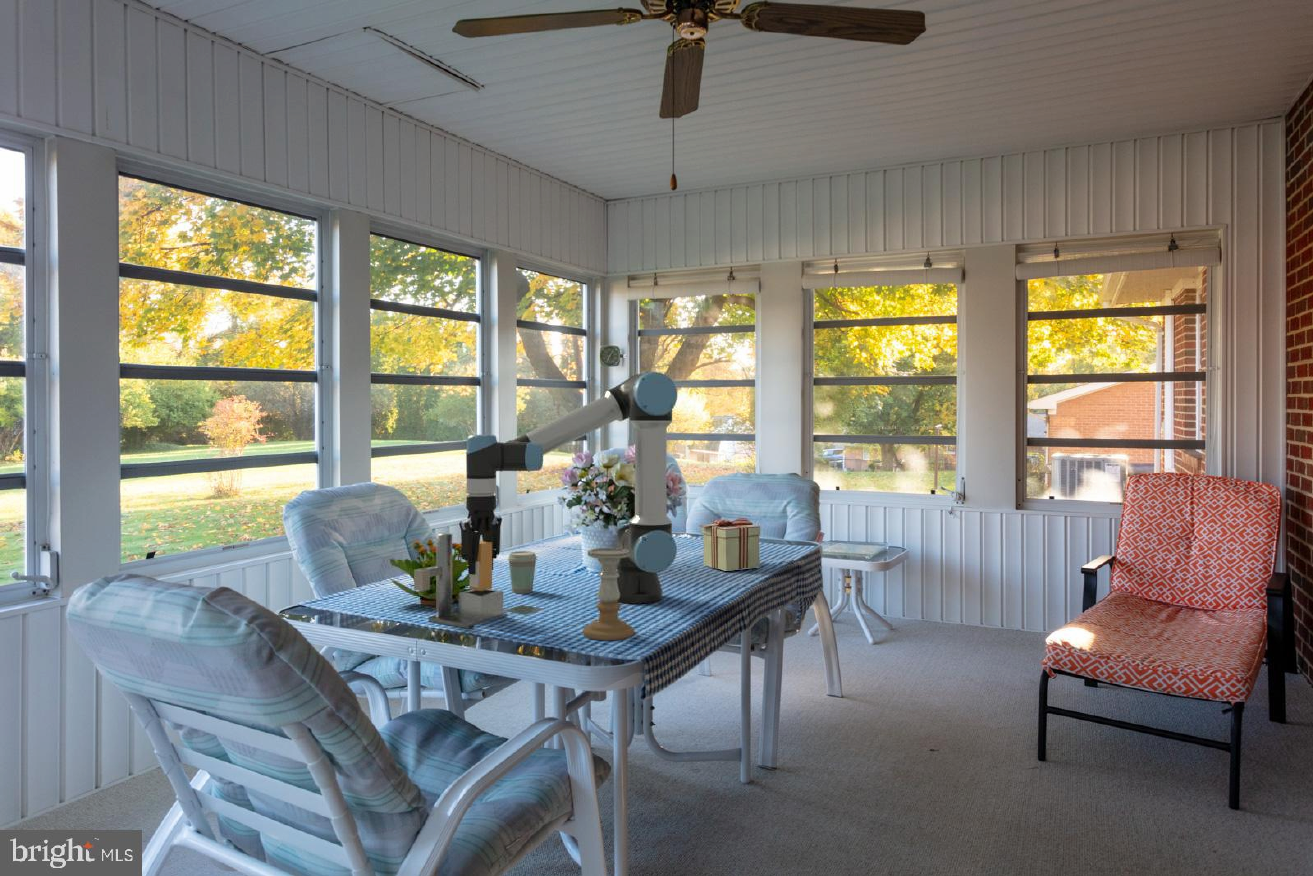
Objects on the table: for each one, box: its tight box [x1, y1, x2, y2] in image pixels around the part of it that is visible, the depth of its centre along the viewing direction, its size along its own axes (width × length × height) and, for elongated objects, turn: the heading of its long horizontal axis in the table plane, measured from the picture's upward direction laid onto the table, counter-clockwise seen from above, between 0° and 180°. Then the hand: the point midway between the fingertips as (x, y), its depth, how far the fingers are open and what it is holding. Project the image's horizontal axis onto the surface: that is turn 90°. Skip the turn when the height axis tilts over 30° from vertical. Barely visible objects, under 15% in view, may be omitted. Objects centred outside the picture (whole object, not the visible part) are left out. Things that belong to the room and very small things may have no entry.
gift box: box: [699, 517, 761, 572], centre depth 292 cm, size 17×18×17 cm
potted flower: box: [389, 538, 471, 607], centre depth 233 cm, size 25×24×18 cm
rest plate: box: [503, 604, 544, 616], centre depth 223 cm, size 8×8×1 cm
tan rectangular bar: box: [469, 540, 493, 591], centre depth 214 cm, size 4×4×12 cm
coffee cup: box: [507, 550, 538, 595], centre depth 246 cm, size 8×9×12 cm
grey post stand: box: [413, 532, 508, 630], centre depth 212 cm, size 14×19×22 cm
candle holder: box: [582, 547, 635, 641], centre depth 201 cm, size 12×12×20 cm
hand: (480, 584), depth 214 cm, fingers closed on tan rectangular bar, 4 cm apart
